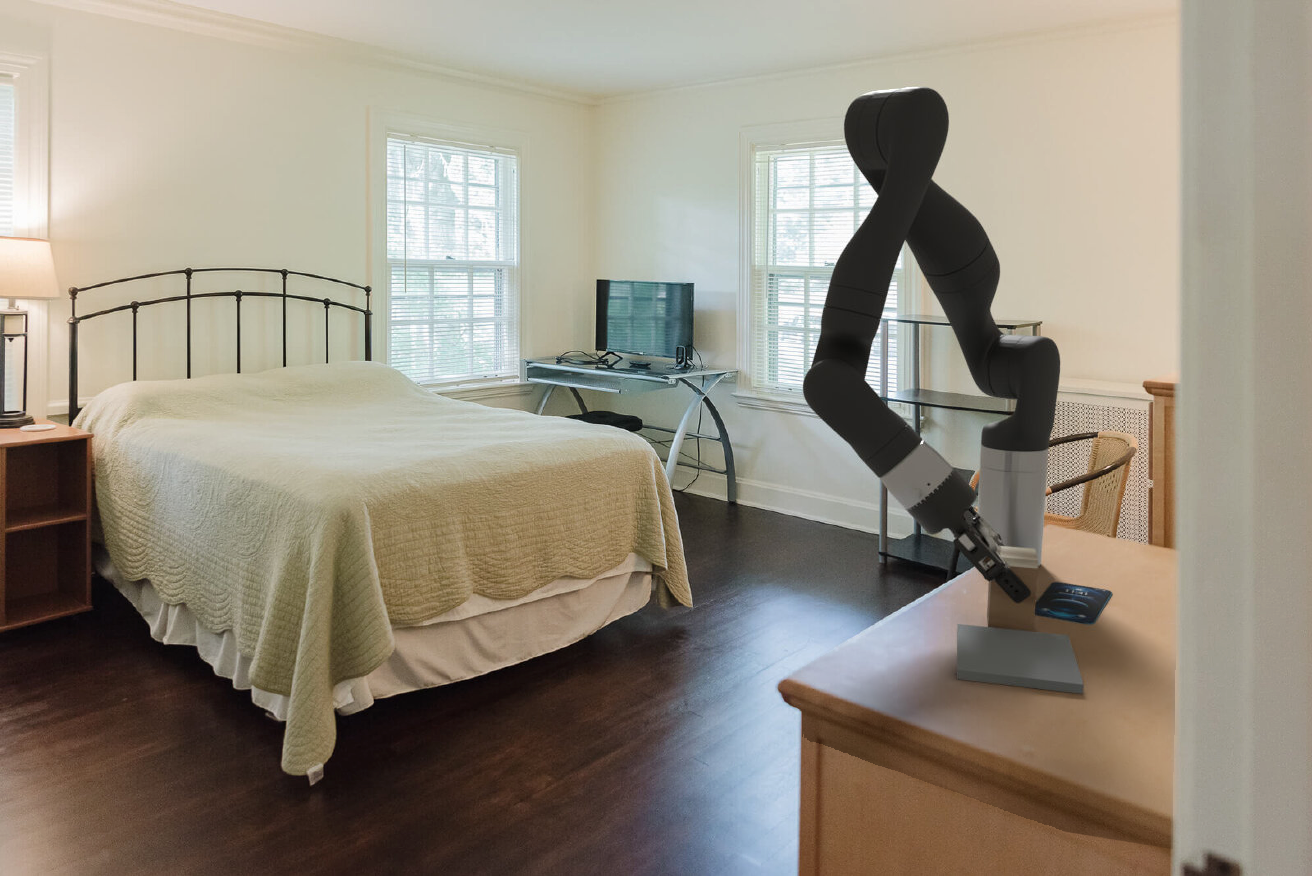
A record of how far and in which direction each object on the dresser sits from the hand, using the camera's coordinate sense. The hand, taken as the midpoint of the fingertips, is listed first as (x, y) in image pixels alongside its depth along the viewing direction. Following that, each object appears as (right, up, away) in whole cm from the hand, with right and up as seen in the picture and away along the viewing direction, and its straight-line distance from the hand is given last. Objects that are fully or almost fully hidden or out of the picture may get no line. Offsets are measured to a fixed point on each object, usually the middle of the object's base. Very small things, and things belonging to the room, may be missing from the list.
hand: (1022, 587), depth 111 cm
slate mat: (-5, -6, -10) cm, 13 cm away
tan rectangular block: (-1, -5, +1) cm, 5 cm away
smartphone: (+10, -4, +9) cm, 14 cm away
